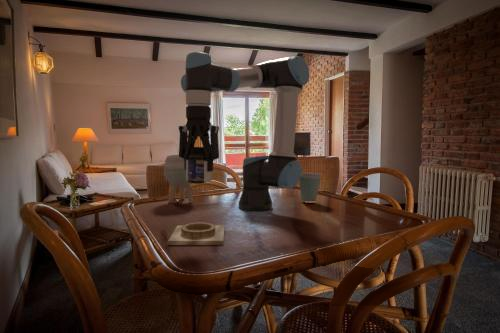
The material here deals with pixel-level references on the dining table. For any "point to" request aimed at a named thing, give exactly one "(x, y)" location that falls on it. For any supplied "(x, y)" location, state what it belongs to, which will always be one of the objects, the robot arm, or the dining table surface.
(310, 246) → the dining table surface
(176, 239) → the square socket plate
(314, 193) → the disposable coffee cup
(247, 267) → the dining table surface
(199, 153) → the pill bottle
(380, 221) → the dining table surface
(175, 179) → the planter
